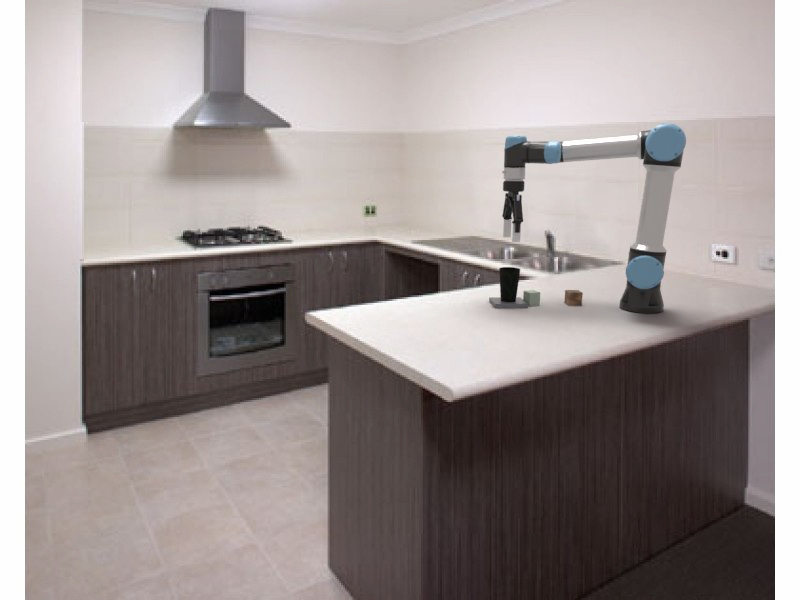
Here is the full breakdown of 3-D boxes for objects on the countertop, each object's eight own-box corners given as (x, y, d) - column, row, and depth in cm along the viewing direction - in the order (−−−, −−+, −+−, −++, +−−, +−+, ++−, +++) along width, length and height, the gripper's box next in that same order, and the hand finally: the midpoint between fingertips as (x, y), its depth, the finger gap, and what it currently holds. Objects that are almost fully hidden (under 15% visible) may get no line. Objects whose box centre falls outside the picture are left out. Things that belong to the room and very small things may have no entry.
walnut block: (577, 302, 241) (578, 290, 240) (581, 305, 237) (582, 292, 236) (564, 302, 241) (565, 290, 240) (568, 305, 236) (569, 292, 235)
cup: (493, 300, 236) (495, 268, 234) (506, 297, 242) (507, 266, 239) (510, 303, 231) (512, 271, 228) (522, 300, 236) (524, 268, 234)
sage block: (532, 303, 240) (533, 290, 239) (539, 305, 236) (540, 292, 235) (522, 303, 239) (523, 290, 238) (529, 306, 235) (530, 293, 234)
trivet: (519, 301, 243) (520, 297, 242) (527, 307, 232) (528, 303, 231) (489, 301, 242) (489, 297, 241) (495, 308, 231) (495, 303, 231)
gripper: (495, 179, 239) (493, 235, 243) (512, 181, 214) (509, 243, 219) (515, 179, 239) (512, 235, 244) (534, 181, 215) (530, 243, 220)
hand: (511, 239), depth 231 cm, fingers open, 13 cm apart
